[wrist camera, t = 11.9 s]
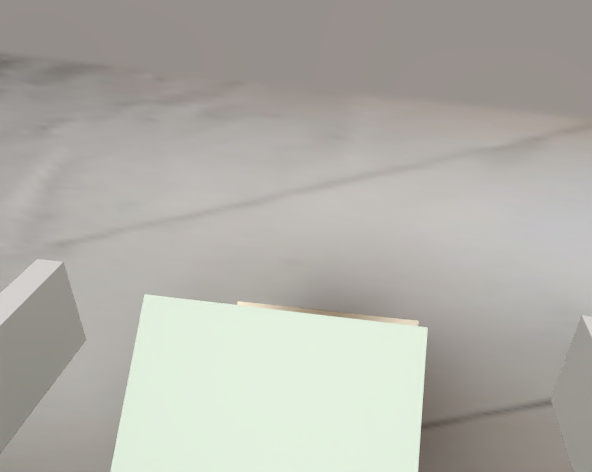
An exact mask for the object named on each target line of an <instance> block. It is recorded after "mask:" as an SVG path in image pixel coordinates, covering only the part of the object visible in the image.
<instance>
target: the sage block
mask: <svg viewBox="0 0 592 472" xmlns="http://www.w3.org/2000/svg"><path fill="white" fill-rule="evenodd" d="M427 330H428V327H420V326H411V325H403V324H394V323H386V322H377V321H369V320H360V319H352V318H343V317H334V316H326V315H317V314H309V313H300V312H292V311H283V310H275V309H266V308H257V307H249V306H240V305H232V304H223V303H215V302H206V301H198V300H189V299H181V298H172V297H163V296H155V295H146V294H145V295H144V300H143V305H142V310H141V315H140V321H139V326H138V331H137V336H136V341H135V346H134V352H133V357H132V362H131V367H130V372H129V378H128V383H127V388H126V393H125V398H124V403H123V409H122V414H121V419H120V424H119V429H118V435H117V440H116V445H115V450H114V455H113V461H112V466H111V471H110V472H418V464H419V449H420V434H421V420H422V405H423V390H424V375H425V360H426V345H427Z"/></svg>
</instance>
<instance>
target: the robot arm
mask: <svg viewBox="0 0 592 472" xmlns="http://www.w3.org/2000/svg"><path fill="white" fill-rule="evenodd" d="M85 341H86V337H85V334H84V330H83V327H82V323H81V320H80V317H79V313H78V310H77V306H76V303H75V299H74V296H73V293H72V289H71V286H70V282H69V279H68V275H67V272H66V269H65V265H64V262H60V261H50V260H41V259H37V260H36V261H35V262H34V263H32V264H31V265H30V266H29V267H28V268H27V269H26V270H25V271H24V272H23V273H22V274H21V275H20V276H18V277H17V278H16V279H15V280H14V281H13V282H12V283H11V284H10V285H9V286H8V287H7V288H6V289H4V290H3V291H2V292H1V293H0V454H1V452H2V451H3V450H4V448H5V447H6V446H7V444H8V443H9V442H10V440H11V439H12V438H13V436H14V435H15V434H16V432H17V431H18V430H19V428H20V427H21V426H22V424H23V423H24V422H25V420H26V419H27V418H28V416H29V415H30V414H31V412H32V411H33V410H34V408H35V407H36V406H37V404H38V403H39V402H40V400H41V399H42V398H43V396H44V395H45V394H46V392H47V391H48V390H49V388H50V387H51V386H52V384H53V383H54V382H55V380H56V379H57V378H58V376H59V375H60V374H61V373H62V371H63V370H64V369H65V367H66V366H67V365H68V363H69V362H70V361H71V359H72V358H73V357H74V355H75V354H76V353H77V351H78V350H79V349H80V347H81V346H82V345H83V343H84V342H85ZM551 402H552V405H553V408H554V411H555V414H556V418H557V421H558V424H559V427H560V430H561V434H562V437H563V440H564V443H565V446H566V450H567V453H568V456H569V459H570V462H571V466H572V469H573V472H592V316H583V315H582V316H581V318H580V321H579V324H578V326H577V329H576V332H575V334H574V337H573V340H572V342H571V345H570V348H569V350H568V353H567V356H566V359H565V361H564V364H563V367H562V369H561V372H560V375H559V377H558V380H557V383H556V385H555V388H554V391H553V393H552V396H551Z"/></svg>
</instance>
